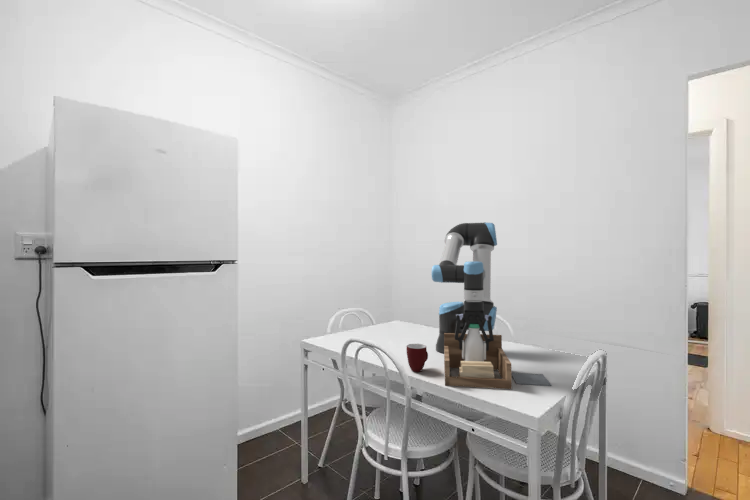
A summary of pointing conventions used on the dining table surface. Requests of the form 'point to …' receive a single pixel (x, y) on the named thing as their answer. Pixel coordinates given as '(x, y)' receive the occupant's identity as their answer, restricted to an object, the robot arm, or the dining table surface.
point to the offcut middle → (475, 374)
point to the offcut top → (476, 367)
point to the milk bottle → (474, 344)
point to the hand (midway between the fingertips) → (473, 358)
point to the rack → (492, 355)
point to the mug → (417, 356)
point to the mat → (530, 379)
